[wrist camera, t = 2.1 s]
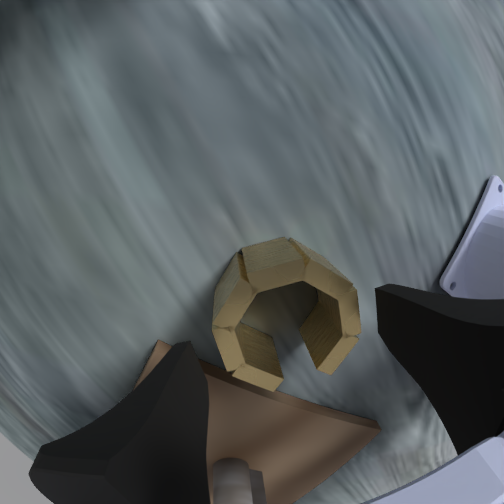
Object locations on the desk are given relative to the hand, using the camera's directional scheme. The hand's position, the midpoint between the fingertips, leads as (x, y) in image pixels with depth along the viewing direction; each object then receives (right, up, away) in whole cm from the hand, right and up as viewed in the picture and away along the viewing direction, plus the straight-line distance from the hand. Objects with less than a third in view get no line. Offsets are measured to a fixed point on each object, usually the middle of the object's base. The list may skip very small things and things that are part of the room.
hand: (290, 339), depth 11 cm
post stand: (-3, -11, +7) cm, 13 cm away
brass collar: (0, +1, +4) cm, 4 cm away
